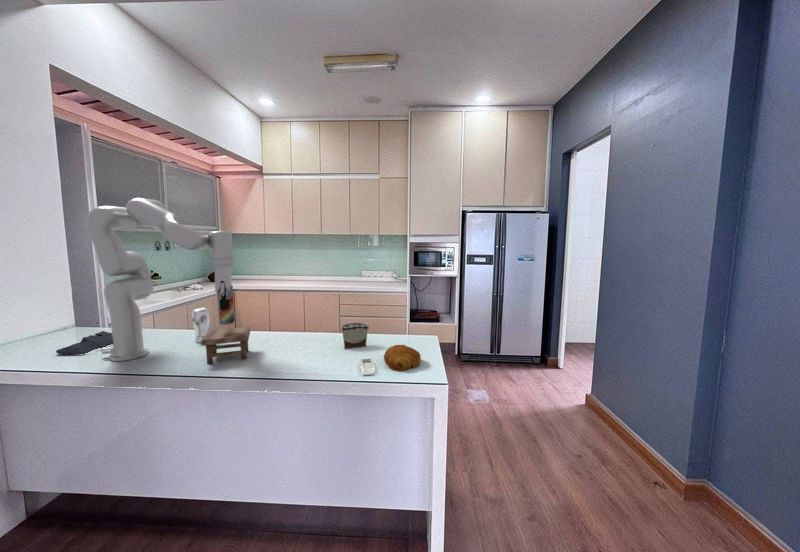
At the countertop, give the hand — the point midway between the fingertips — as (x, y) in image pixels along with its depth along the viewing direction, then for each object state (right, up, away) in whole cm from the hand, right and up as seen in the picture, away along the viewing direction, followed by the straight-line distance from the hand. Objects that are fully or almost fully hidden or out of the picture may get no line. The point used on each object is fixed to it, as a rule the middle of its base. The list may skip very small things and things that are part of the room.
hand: (225, 307), depth 134 cm
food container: (+49, -19, +17) cm, 55 cm away
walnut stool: (0, -20, +3) cm, 21 cm away
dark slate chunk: (-67, -19, +14) cm, 71 cm away
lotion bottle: (0, -7, +1) cm, 7 cm away
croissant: (+70, -22, -3) cm, 74 cm away
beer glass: (-23, -18, +23) cm, 37 cm away
